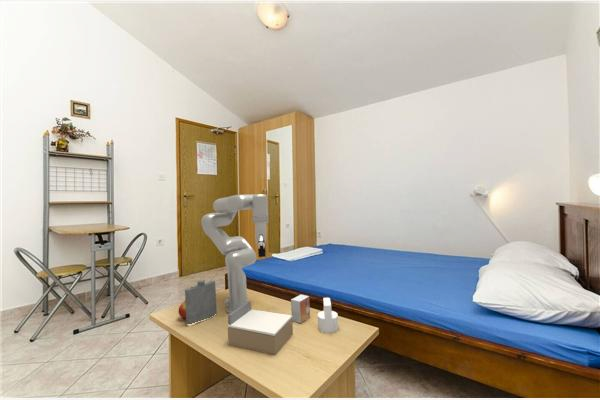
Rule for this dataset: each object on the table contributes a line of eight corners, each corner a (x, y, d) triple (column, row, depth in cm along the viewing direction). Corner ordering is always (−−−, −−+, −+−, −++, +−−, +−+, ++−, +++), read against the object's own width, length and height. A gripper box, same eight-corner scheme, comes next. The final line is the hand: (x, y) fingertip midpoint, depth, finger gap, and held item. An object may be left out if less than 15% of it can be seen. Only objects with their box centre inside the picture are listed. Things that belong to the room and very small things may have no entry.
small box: (300, 323, 124) (299, 301, 124) (291, 320, 127) (290, 299, 127) (310, 317, 130) (309, 296, 130) (301, 314, 133) (300, 293, 133)
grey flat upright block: (214, 312, 140) (212, 275, 139) (218, 314, 137) (217, 276, 137) (185, 325, 127) (183, 284, 127) (189, 327, 125) (187, 285, 125)
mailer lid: (227, 326, 109) (227, 315, 109) (249, 310, 123) (249, 300, 123) (274, 335, 100) (274, 323, 100) (292, 317, 115) (291, 306, 115)
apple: (197, 318, 134) (196, 299, 134) (180, 323, 129) (179, 303, 129) (194, 313, 141) (193, 294, 140) (177, 317, 136) (176, 298, 136)
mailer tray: (228, 344, 109) (227, 327, 109) (250, 326, 124) (249, 311, 123) (275, 354, 100) (274, 336, 100) (292, 333, 115) (292, 318, 115)
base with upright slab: (317, 323, 124) (316, 297, 124) (337, 322, 123) (336, 297, 123) (318, 333, 115) (317, 305, 114) (339, 332, 114) (338, 305, 114)
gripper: (253, 218, 136) (255, 251, 137) (251, 221, 119) (253, 259, 120) (268, 217, 137) (269, 250, 138) (268, 220, 120) (270, 257, 121)
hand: (262, 254), depth 129 cm, fingers open, 9 cm apart
